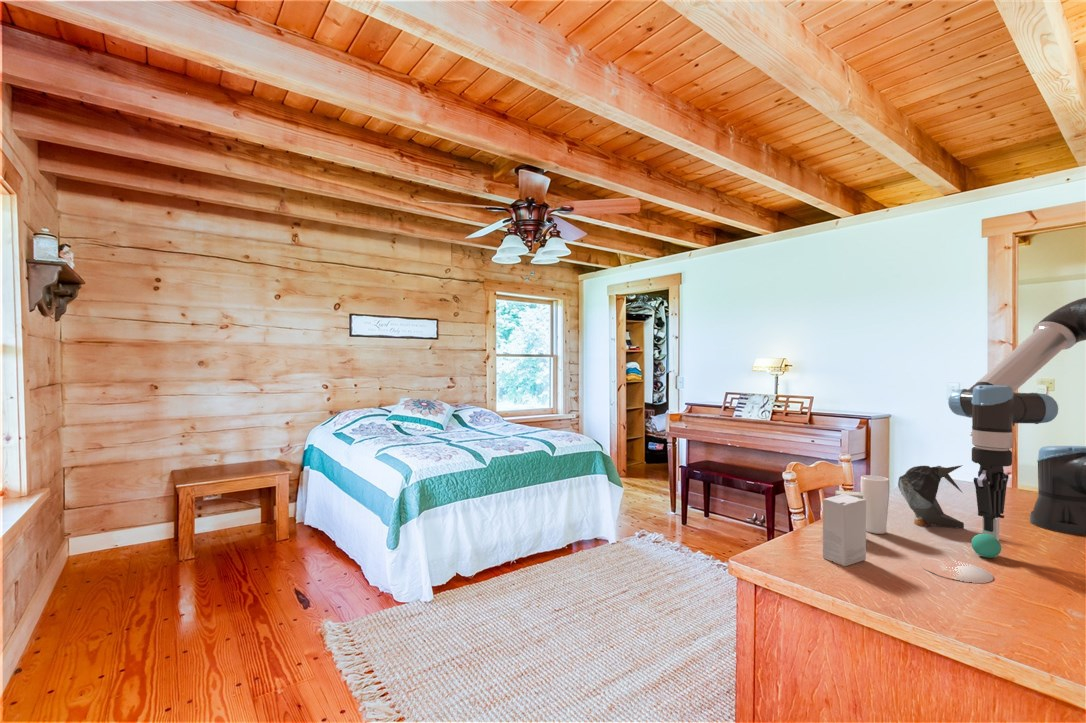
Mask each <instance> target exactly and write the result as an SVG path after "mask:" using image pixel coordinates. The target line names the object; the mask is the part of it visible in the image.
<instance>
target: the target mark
mask: <svg viewBox="0 0 1086 723" xmlns="http://www.w3.org/2000/svg"><path fill="white" fill-rule="evenodd" d="M954 561H955V562H956V561H957V560H954ZM959 562H960V563H961V564H962V561H958V563H959ZM960 563H959V565H960ZM965 563H966V565H967V566H966V565H965ZM956 564H957V563H956ZM963 564H964V565H965V566H963ZM963 564H962V566H957V567H955V569H954V570H955V571H957V570H958V571H957V572H956V573H958V572H959V573H958V574H959V575H957V574H956V576H957V577H958V578H959V579H958V578H957V577H956V580H960V581H959V582H962V581H964V582H963V583H969V582H972V583H973V584H984V583H985V584H986V583H990V582H993V580H994V576H993V574H992V573H990V572H989V571H988V570H986V569H984V568H981V567H979V566H976V565H973V564H969V563H967V562H963ZM968 564H969V566H968ZM946 568H947V567H946ZM949 568H950V567H949ZM956 568H958V569H956ZM952 569H953V567H952ZM954 570H953V571H954ZM960 570H961V571H960ZM950 571H951V570H950ZM961 572H962V573H961ZM953 575H954V574H953ZM954 576H955V575H954ZM953 579H954V578H953ZM956 580H955V581H956ZM972 583H971V584H972Z"/></svg>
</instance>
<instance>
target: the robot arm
mask: <svg viewBox="0 0 1086 723" xmlns="http://www.w3.org/2000/svg"><path fill="white" fill-rule="evenodd" d="M1083 341H1086V297H1083V298H1079V299H1076V300H1074V301H1071V302H1069V303H1067V304H1065V305H1063V306H1060V307H1059V308H1057V309H1056V310H1054V311H1053V312H1050V313H1049V314H1048V315H1046V316H1045V317H1043V319H1042V320H1040V321H1039V322H1038V323H1037V324H1035V325H1034V327H1033V329H1032V333H1031V334H1030V335H1029V336H1028V337H1027V338H1026V339H1025V340H1023V341H1022V342H1021V343H1020V344H1019V345H1017V346H1016V348H1014V349H1013V350H1012V351H1010V353H1008V355H1006V356H1005V357H1004V358H1003V359H1002V360H1000V361H999V363H997V364H996V365H995V366H993V368H992V369H990V370H989V371H988V372H987V373H986V374H984V375H983V376H982V377H981V378H980V379H979V380H978V381H977V382H976V383H975V384H973V385H972V386H970V388H968V389H966V388H962V389H956V390H953V391H952V392H951V394H949V397H948V401H947V402H948V403H947V404H948V407H949V409H950V411H951V413H953V414H954V415H957V416H960V417H966V418H971V422H972V425H971V432H970V433H969V436H970V437H971V443H972V445H973V446H974V447H973V446H972V448H971V462H973V463H975V464H978V465H979V471H978V472H977V477H973V483H974V487H975V488H974V489H975V495H976V503H977V504H976V505H977V516H978V517H982V534H988V535H991V536H993V537H995V538H996V539H997V540H998V541H999V542H1000V519H1005V515H1003V514H1004V513H1005V504H1006V494H1007V485H1008V481H1009V479H1010V478H1009V474H1007V473H1005V470H1004V467H1010V466H1012V465H1013V451H1012V448H1013V443H1014V440H1013V435H1014V433H1013V425H1014V424H1034V425H1039V424H1044V423H1045V424H1046V423H1049V422H1052V421H1053V420H1054V419H1055V418H1056V417H1057V416H1058V414H1059V405H1058V403H1057V400H1056V399H1054V397H1053V396H1051V395H1050V394H1047V393H1046V394H1045V393H1039V392H1016V391H1017V390H1018V389H1019V388H1020V387H1021V386H1023V385H1024V384H1025V383H1026V382H1027V381H1028V380H1029V379H1031V378H1032V377H1034V375H1035V374H1037V373H1038V372H1039V370H1041V369H1042V368H1044V367H1045V365H1047V364H1048V363H1049V362H1050V361H1051V360H1052V359H1053V358H1055V356H1057V355H1058V354H1059V353H1060V352H1062V351H1063V350H1068V349H1071V348H1072V347H1074V345H1077V343H1080V342H1083ZM1036 460H1037V461H1036V462H1037V480H1038V481H1037V483H1038V484H1037V486H1038V491H1037V492H1038V493H1037V494H1038V495H1037V498H1036V500H1035V503H1034V506H1033V509H1032V511H1031V512H1030V513H1029V521H1030V523H1031V524H1033V525H1035V526H1038V527H1040V528H1043V529H1046V530H1050V531H1054V532H1060V533H1064V534H1072V535H1078V536H1079V535H1080V536H1086V445H1048V446H1042V447H1040V448H1039V450H1038V456H1037V459H1036Z"/></svg>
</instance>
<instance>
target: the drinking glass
mask: <svg viewBox="0 0 1086 723" xmlns="http://www.w3.org/2000/svg"><path fill="white" fill-rule="evenodd" d="M860 492H861V494H862V495H863V499H864V500H866V533H871V534H874V535H884V534H886V533H887V531H888V530H887V528H888V527H887V525H888V515H889V514H888V511H889V502H890V479H889V478H887V477H885V476H880V475H871V474H870V475H869V474H865V475H861V476H860Z"/></svg>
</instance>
